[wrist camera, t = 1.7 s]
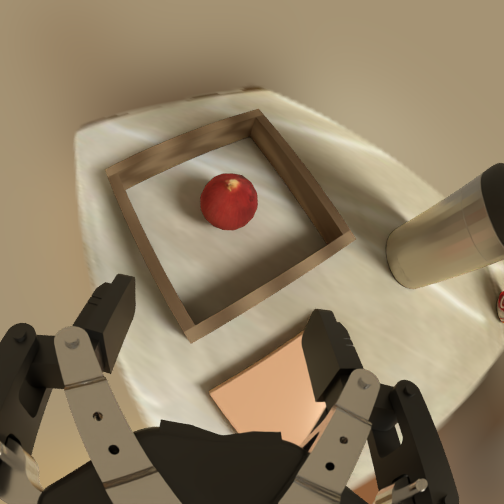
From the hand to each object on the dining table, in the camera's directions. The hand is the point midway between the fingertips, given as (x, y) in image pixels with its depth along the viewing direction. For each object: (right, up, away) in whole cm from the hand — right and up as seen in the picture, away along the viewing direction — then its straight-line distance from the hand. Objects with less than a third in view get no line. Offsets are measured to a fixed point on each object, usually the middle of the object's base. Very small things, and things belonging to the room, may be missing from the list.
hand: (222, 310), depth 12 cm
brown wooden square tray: (-2, +7, +20) cm, 21 cm away
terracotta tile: (+7, -15, +15) cm, 22 cm away
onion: (-2, +7, +20) cm, 21 cm away
